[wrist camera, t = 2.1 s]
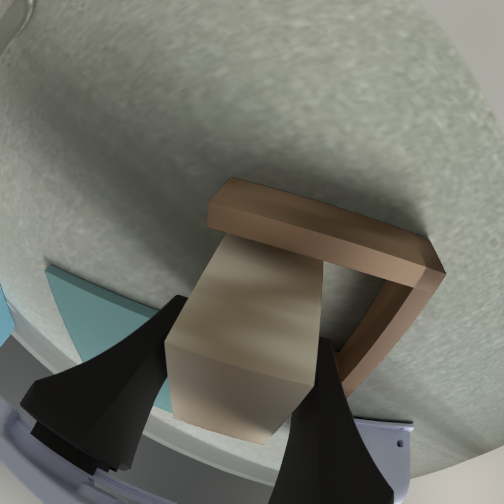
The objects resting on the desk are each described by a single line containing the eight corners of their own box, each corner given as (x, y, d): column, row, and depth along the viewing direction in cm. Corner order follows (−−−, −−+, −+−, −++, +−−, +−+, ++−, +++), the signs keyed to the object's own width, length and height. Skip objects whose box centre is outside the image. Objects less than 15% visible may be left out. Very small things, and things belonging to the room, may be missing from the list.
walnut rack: (429, 239, 11) (446, 274, 9) (347, 364, 16) (346, 397, 14) (230, 177, 12) (208, 202, 10) (208, 326, 17) (194, 358, 15)
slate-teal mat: (186, 321, 17) (181, 330, 17) (186, 411, 27) (183, 417, 26) (50, 264, 18) (44, 270, 18) (92, 369, 28) (89, 374, 27)
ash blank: (323, 242, 12) (314, 385, 7) (288, 329, 16) (263, 445, 10) (235, 217, 13) (164, 341, 7) (220, 309, 16) (173, 417, 10)
